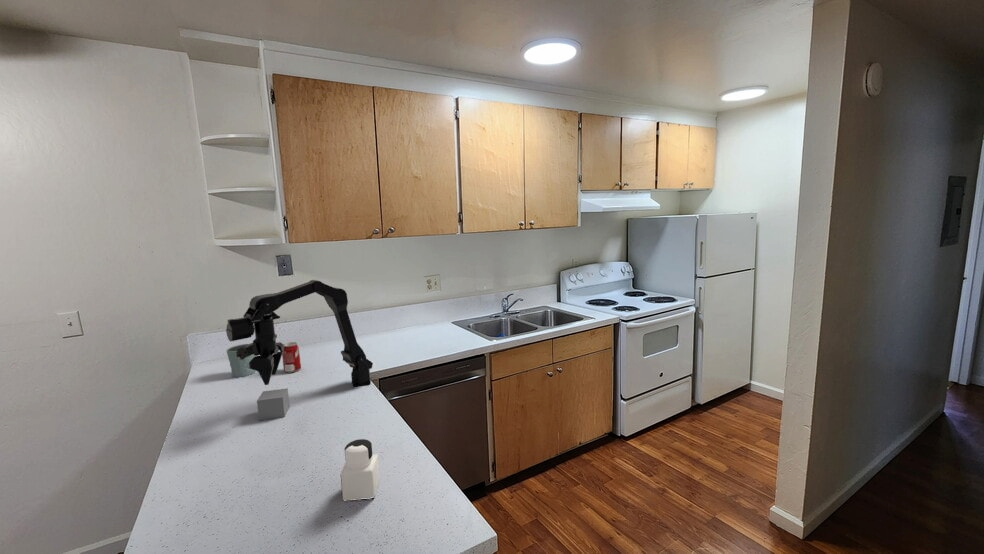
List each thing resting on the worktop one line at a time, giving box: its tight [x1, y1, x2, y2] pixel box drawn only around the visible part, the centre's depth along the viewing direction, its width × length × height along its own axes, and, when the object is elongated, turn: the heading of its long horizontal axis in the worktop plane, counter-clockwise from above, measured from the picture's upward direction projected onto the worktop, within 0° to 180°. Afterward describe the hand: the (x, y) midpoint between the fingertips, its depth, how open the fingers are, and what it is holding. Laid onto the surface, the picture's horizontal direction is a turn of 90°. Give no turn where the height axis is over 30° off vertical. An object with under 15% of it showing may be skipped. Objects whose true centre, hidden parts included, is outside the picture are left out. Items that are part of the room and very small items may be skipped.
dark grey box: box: [256, 388, 291, 421], centre depth 141 cm, size 8×8×7 cm
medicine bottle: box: [340, 438, 381, 501], centre depth 98 cm, size 7×7×12 cm
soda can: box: [281, 341, 302, 374], centre depth 181 cm, size 7×7×12 cm
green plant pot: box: [226, 343, 257, 378], centre depth 179 cm, size 10×10×12 cm
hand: (270, 379), depth 140 cm, fingers open, 9 cm apart
